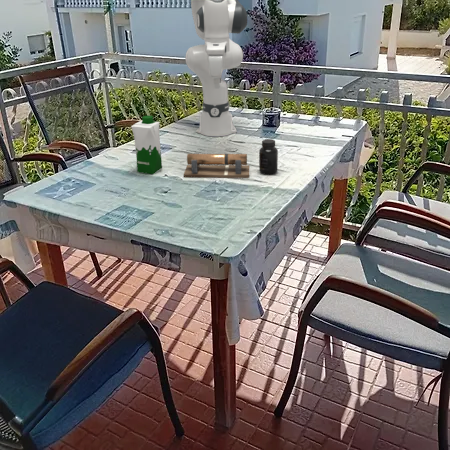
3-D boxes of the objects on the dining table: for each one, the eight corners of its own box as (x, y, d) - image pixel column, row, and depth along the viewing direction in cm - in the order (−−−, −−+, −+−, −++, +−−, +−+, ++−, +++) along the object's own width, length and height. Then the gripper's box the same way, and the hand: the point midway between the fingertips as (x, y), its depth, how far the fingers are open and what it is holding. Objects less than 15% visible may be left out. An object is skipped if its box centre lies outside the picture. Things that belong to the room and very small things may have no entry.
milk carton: (165, 167, 184) (161, 116, 175) (154, 175, 177) (149, 122, 168) (145, 164, 187) (140, 114, 178) (133, 173, 180) (127, 120, 170)
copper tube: (187, 164, 176) (186, 153, 175) (188, 164, 180) (188, 153, 179) (246, 165, 175) (246, 153, 174) (246, 165, 179) (247, 153, 178)
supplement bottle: (267, 167, 183) (268, 136, 177) (281, 171, 178) (282, 140, 173) (255, 172, 179) (255, 141, 173) (269, 176, 174) (269, 145, 169)
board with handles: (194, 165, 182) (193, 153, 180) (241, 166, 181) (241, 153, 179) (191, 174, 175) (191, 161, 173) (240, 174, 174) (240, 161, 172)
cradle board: (187, 167, 184) (187, 164, 183) (249, 167, 182) (249, 165, 182) (183, 177, 175) (183, 174, 175) (249, 177, 174) (249, 175, 173)
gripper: (210, 42, 180) (211, 79, 187) (205, 50, 162) (207, 91, 169) (227, 42, 180) (228, 79, 186) (224, 50, 162) (225, 91, 168)
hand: (218, 85), depth 177 cm, fingers open, 8 cm apart
